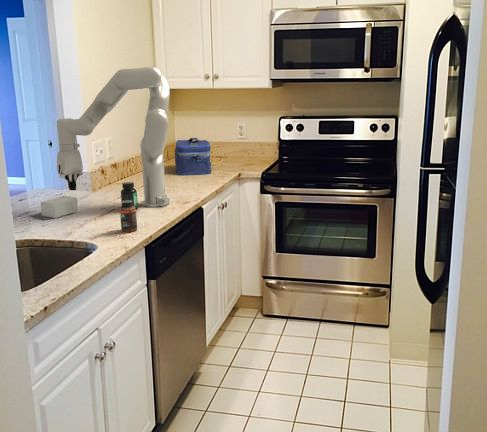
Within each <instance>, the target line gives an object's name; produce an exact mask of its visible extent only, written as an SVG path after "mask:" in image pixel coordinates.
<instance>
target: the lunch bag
mask: <svg viewBox="0 0 487 432" xmlns="http://www.w3.org/2000/svg"><path fill="white" fill-rule="evenodd" d="M174 164H175V171H176V174H177V175H178V176H181V177H182V176H183V177H185V176H197V175H199V176H200V175H209V174H211V173H212V162H211V143H210V142H209V141H208V140H206V139H203V140H201V139H198V138H197V137H190V139H189V138H188V139H181V140H180V139H178V140H176V143H175V148H174Z"/></svg>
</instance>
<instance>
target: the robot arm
mask: <svg viewBox="0 0 487 432" xmlns="http://www.w3.org/2000/svg"><path fill="white" fill-rule="evenodd" d="M142 89H149V99H148V100H149V101H148V107H147V110H146V111H147V112H146V115H145V120H144V122H145V126H144V133H143V136H142V139H141V140H140V146H139V147H140V154H141V155H140V156H141V166H142V169H141V170H142V181H143V182H142V183H143V195H144V196H143V197H144V200H142V201H141V202H140V204H141V206H142V207H147V208H148V207H149V208H156V207H157V208H158V207H164V206H167V205H169V204H170V201H171V198H170V197H168V194H166V180H165V177H166V176H165V163H164V162H165V161H164V150H165V146H166V143H167V138H168V137H167V136H168V131H169V122H170V121H169V117H168V111H169V103H170V97H171V96H170V94H171V92H170V91H171V89H170V86H169V83H168V81H167V79H166V77H165V76H164V75H163V74H162V72H161V70H159V68H158V67H155V66H144V67H137V68H135V67H134V68H122V69H121V68H120V69H118V70H117V71H116V72H115V73H114V74H113V75H112V77H111V78H110V79H109V81H107V83H106V84H105V85H104V87H102V89H101V90H100V91H99V92H98V93H97V95H96V97H94V100H93V101H92V103H91V104H90V105H89V106H88V108H86V110H85V111H84V112H83V113H82V115H81V116H80V117H79V118H75V119H74V118H67V117H66V118H64V117H63V118H58V119H57V120H56V130H57V139H58V149H59V151H57V157H56V172H57V174H59V175H58V178H60V179H65V181H67V186H68V190H69V191H77V181H78V178H79V177H80V176H82V175H83V174H84V173H83V171H84V168H83V160H82V155H81V152H80V149H79V147H81V145H80V143H78V140H77V136H83V137H86V136H90V135H91V134H92V133H93V132H94V130H95V128H96V127H97V126H98V125H99V123H100V122H101V121H102V120H103V119H104V118H105V117H106V115H108V114H109V113H110V112H111V111H113V109H114V108H115V107H116V105H117V104H119V102H120V101H121V100H122V99H123V98H124V96H125V95H126V94H127V92H128V91H130V90H131V91H132V90H134V91H135V90H142Z"/></svg>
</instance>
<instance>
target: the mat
mask: <svg viewBox="0 0 487 432" xmlns="http://www.w3.org/2000/svg"><path fill="white" fill-rule="evenodd" d="M74 213H75V212H74ZM74 213H70V214H67V215H63V216H60V217H59V218H61V217H66V216H72V215H74ZM28 216H29V217H31V218H34V219H38V220H41V221H48V220H52V219H54V218H52V217H45V216H42V212H40V213H34V214H30V215H28Z"/></svg>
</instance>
